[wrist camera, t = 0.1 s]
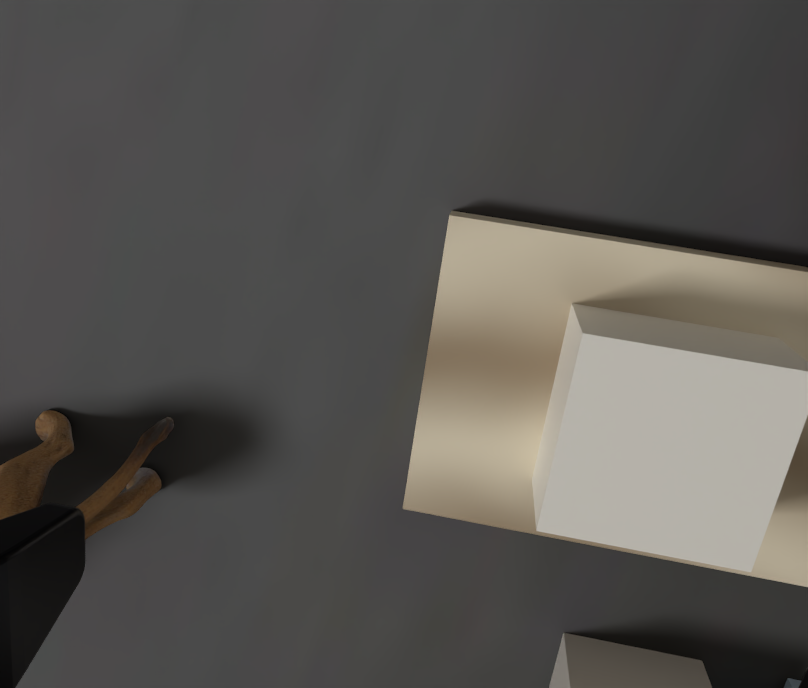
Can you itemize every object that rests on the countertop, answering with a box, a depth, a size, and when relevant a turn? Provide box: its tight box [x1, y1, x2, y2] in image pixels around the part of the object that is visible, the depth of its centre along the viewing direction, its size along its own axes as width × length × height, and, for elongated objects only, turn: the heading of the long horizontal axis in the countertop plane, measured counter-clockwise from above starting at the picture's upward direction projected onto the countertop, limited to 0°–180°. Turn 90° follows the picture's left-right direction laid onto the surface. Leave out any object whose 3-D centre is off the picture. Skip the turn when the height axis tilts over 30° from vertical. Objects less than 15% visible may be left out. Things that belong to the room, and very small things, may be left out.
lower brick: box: [532, 303, 808, 572], centre depth 20 cm, size 6×6×3 cm
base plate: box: [403, 211, 808, 587], centre depth 22 cm, size 10×14×1 cm
